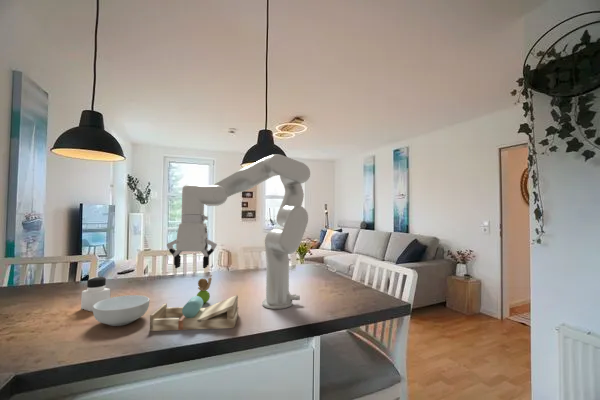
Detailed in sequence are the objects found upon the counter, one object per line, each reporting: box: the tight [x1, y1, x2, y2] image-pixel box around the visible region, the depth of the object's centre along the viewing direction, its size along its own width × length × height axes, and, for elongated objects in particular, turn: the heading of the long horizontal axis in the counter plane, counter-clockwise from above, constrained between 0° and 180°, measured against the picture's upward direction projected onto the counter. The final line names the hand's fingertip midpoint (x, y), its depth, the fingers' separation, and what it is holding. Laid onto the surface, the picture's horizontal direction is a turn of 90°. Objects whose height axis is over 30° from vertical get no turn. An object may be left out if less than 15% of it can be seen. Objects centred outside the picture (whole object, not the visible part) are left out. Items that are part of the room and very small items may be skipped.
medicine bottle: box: [80, 276, 112, 313], centre depth 114 cm, size 7×7×12 cm
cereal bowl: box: [92, 294, 151, 327], centre depth 100 cm, size 17×17×7 cm
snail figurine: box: [196, 274, 213, 304], centre depth 120 cm, size 5×6×12 cm
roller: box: [182, 295, 204, 318], centre depth 100 cm, size 5×8×5 cm, turn 6°
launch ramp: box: [149, 294, 239, 332], centre depth 100 cm, size 27×12×8 cm, turn 96°
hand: (191, 267), depth 101 cm, fingers open, 9 cm apart
